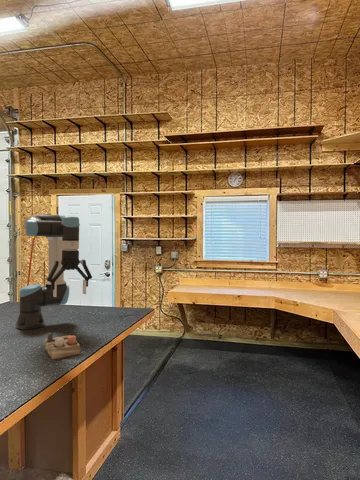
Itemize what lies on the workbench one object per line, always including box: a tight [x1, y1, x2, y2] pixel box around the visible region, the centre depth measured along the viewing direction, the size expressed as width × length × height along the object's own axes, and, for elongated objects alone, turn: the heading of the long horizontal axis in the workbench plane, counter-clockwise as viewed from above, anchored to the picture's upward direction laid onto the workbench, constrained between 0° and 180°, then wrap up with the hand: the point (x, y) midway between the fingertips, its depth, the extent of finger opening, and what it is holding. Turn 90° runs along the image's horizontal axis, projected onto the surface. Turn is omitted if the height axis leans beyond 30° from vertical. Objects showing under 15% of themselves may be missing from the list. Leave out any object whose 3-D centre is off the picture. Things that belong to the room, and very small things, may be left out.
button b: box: [55, 338, 64, 347], centre depth 143 cm, size 4×4×3 cm
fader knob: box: [46, 332, 54, 341], centre depth 148 cm, size 3×2×3 cm
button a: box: [68, 335, 77, 345], centre depth 146 cm, size 4×4×3 cm
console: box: [43, 334, 81, 360], centre depth 147 cm, size 16×12×4 cm
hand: (70, 295), depth 148 cm, fingers open, 13 cm apart
